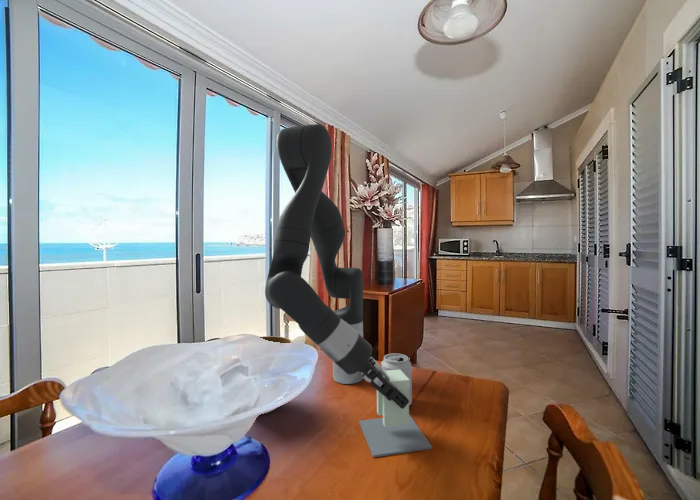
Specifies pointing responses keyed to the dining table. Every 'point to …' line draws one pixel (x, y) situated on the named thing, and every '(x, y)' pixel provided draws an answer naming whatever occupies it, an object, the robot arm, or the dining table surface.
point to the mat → (393, 437)
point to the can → (399, 367)
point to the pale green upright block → (389, 408)
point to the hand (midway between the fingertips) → (400, 397)
